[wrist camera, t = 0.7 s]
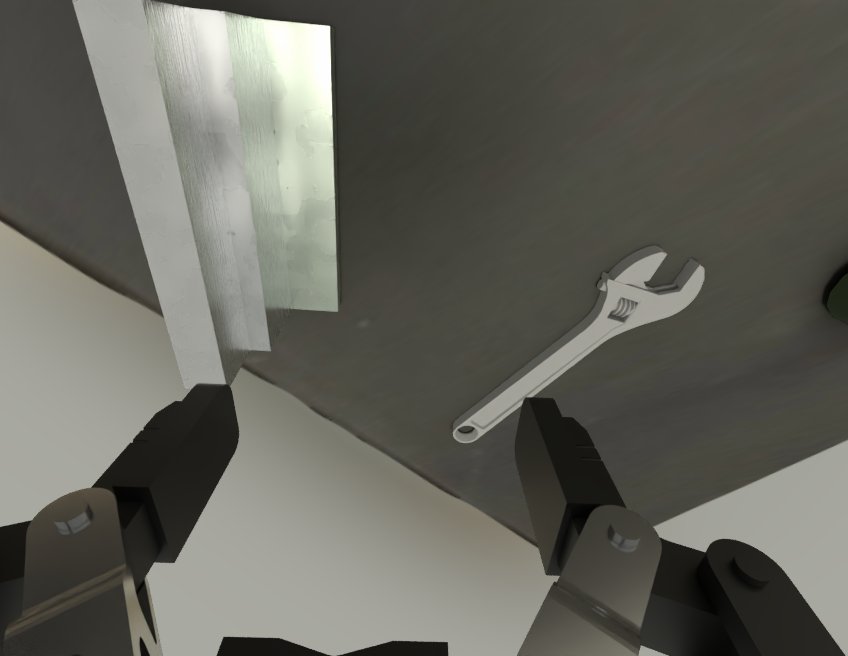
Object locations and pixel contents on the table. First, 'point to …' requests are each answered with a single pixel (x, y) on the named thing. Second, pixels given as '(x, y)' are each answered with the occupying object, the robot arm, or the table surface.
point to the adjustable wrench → (590, 333)
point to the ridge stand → (223, 168)
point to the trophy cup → (839, 300)
